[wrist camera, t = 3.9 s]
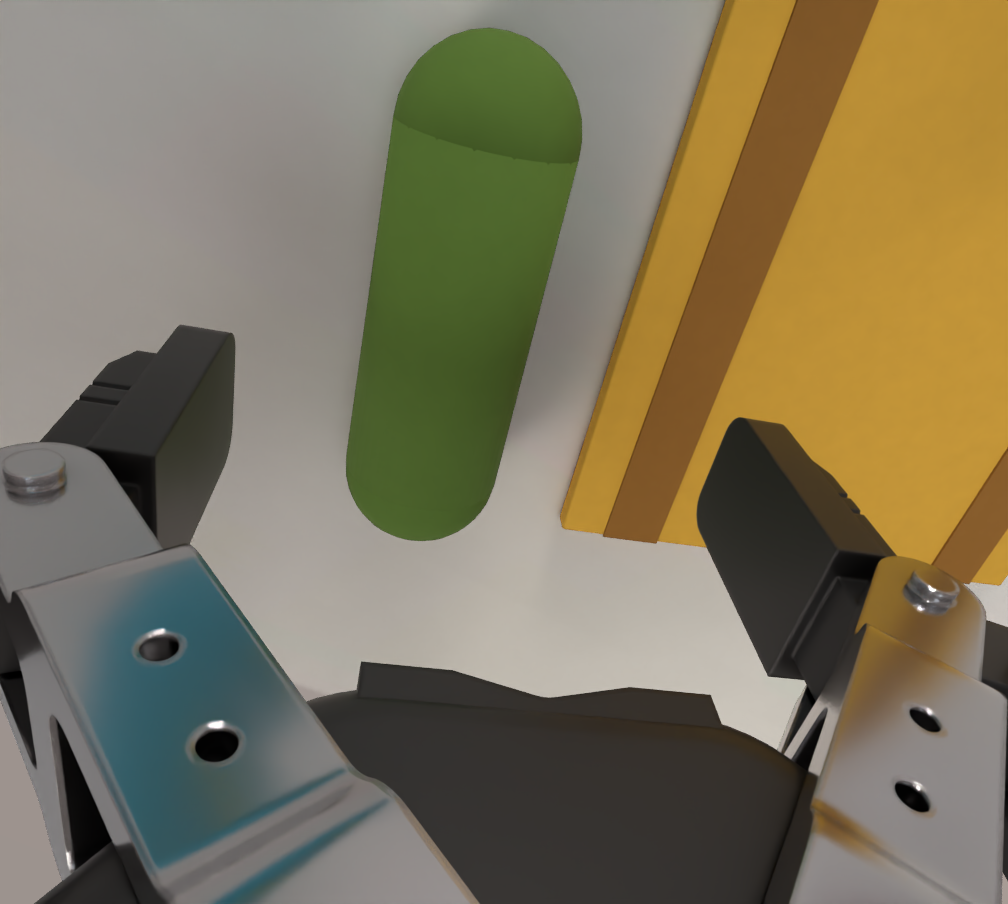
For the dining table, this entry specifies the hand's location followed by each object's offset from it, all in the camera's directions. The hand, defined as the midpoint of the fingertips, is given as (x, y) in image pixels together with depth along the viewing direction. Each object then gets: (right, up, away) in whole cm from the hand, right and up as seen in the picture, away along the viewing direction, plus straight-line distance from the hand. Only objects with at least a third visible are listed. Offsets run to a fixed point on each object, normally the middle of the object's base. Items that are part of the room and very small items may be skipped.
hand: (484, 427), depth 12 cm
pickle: (-1, +3, +6) cm, 7 cm away
